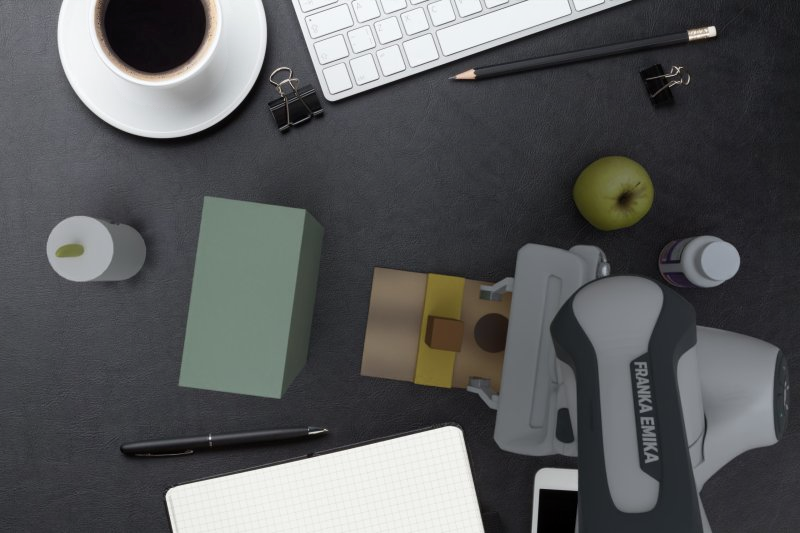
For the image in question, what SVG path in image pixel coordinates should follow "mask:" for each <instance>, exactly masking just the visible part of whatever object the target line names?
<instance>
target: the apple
mask: <svg viewBox="0 0 800 533" xmlns="http://www.w3.org/2000/svg"><path fill="white" fill-rule="evenodd" d="M652 182H653V181H652V180H651V177H650V175H649V173H648V172H647V170H646V169H645V168H644V167H643V166H642V165H641V164H640V163H638V162H636V161H635V160H633V159H631V158H629V157H626V156H621V155H611V156H605V157H601V158H599V159H597V160H595V161H594V162H592V163H590V164H589V165H588V166H587V167H585V168H584V169H583V170H582V172H581V173H580V174H579V176H578V177H577V179H576V181H575V183H574V185H573V188H572V196H573V201H574V202H575V205H576V207H577V210H578V211H579V213H580V214H581V216H583V218H584V219H585V220H587V222H588V223H589V224H590V225H591V226H593V227H594V228H596V229H598V230H600V231H613V230H619V229H624V228H629V227H631V226H634V225H635V224H636V223H638V222H640V220H641V219H642V218H644V216H646V214H647V213H649V211H650V210H651V208H652V205H653V201H654V195H655V190H654V186H653V183H652Z"/></svg>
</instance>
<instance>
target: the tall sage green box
mask: <svg viewBox="0 0 800 533" xmlns="http://www.w3.org/2000/svg"><path fill="white" fill-rule="evenodd" d="M202 203H203V204H202V211H201V217H200V226H199V232H198V240H197V247H196V254H195V261H194V270H193V275H192V283H191V284H192V285H191V291H190V296H189V297H190V298H189V306H188V313H187V321H186V327H185V335H184V342H183V350H182V357H181V363H180V370H179V377H178V378H179V379H178V387H183V388H189V389H190V388H191V389H199V390H207V391H216V392H223V393H231V394H238V395H239V394H240V395H247V396H255V397H262V398H271V399H278V400H280V399H282V397H283V396H284V395H285V393H286V392H287V390H288V389H289V388H290V386H291V385H292V384H293V383H294V381H295V380H296V378H297V377H298V375H299V374H300V373H301V371H303V369H304V367H305V366H306V365H307V363H308V355H309V348H310V341H311V333H312V326H313V319H314V318H313V317H314V313H315V312H314V311H315V304H316V297H317V288H318V282H319V275H320V274H319V272H320V266H321V258H322V253H323V252H322V250H323V244H324V237H325V230H326V229H325V227H324V226H323V225H322V224H321V223H320V222H319V221H318V219H316V218H315V217H314V216H313V215H312V214H311V213H310V212H309V211H308V210H307V209H305V208H299V207H292V206H291V207H290V206H283V205H277V204H270V203H261V202H254V201H246V200H239V199H232V198H226V197H225V198H224V197H217V196H210V195H204V196H203V202H202Z"/></svg>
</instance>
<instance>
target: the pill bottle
mask: <svg viewBox="0 0 800 533" xmlns="http://www.w3.org/2000/svg"><path fill="white" fill-rule="evenodd" d="M740 265H741V257H740V255H739V252H738V250H737V248H736V247H735V246H734V245H733V244H731V243H729V242H727V241H724V240H723V239H721V238H719V237H717V236H715V235H698V236H693V237H685V238H679V239H674V240H672V241H670V242H669V243H667V244H666V245H665V246H664V247H663V249H662V250H661V252H660V254H659V257H658V268H659V269H658V270H659V272H660V274H661V276H662V277H663V278H664V280H665V281H666V282H668V283H669V284H671V285H673V286H675V287H678V288H679V287H680V288H714V287H717V286H720V285H721V284H723V283H725V282H726V281H727V280H730V279H732V278H733V277H734V276H735V275H736V274H737V272H739V269H740Z"/></svg>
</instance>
